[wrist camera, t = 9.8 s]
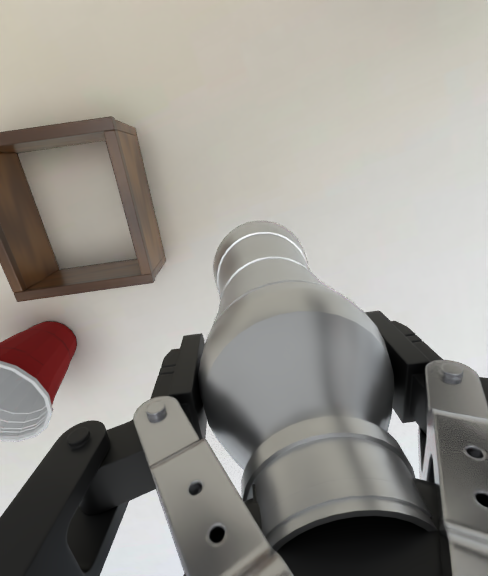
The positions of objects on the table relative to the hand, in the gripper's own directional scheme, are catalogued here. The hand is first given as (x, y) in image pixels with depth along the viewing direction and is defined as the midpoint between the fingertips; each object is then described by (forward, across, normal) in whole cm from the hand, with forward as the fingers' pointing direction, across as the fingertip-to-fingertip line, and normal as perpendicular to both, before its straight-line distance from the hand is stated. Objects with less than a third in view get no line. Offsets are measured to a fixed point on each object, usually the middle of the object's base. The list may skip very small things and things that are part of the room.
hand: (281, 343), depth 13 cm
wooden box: (+26, +17, -4) cm, 31 cm away
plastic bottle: (+12, 0, 0) cm, 12 cm away
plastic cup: (+26, +27, +12) cm, 39 cm away
